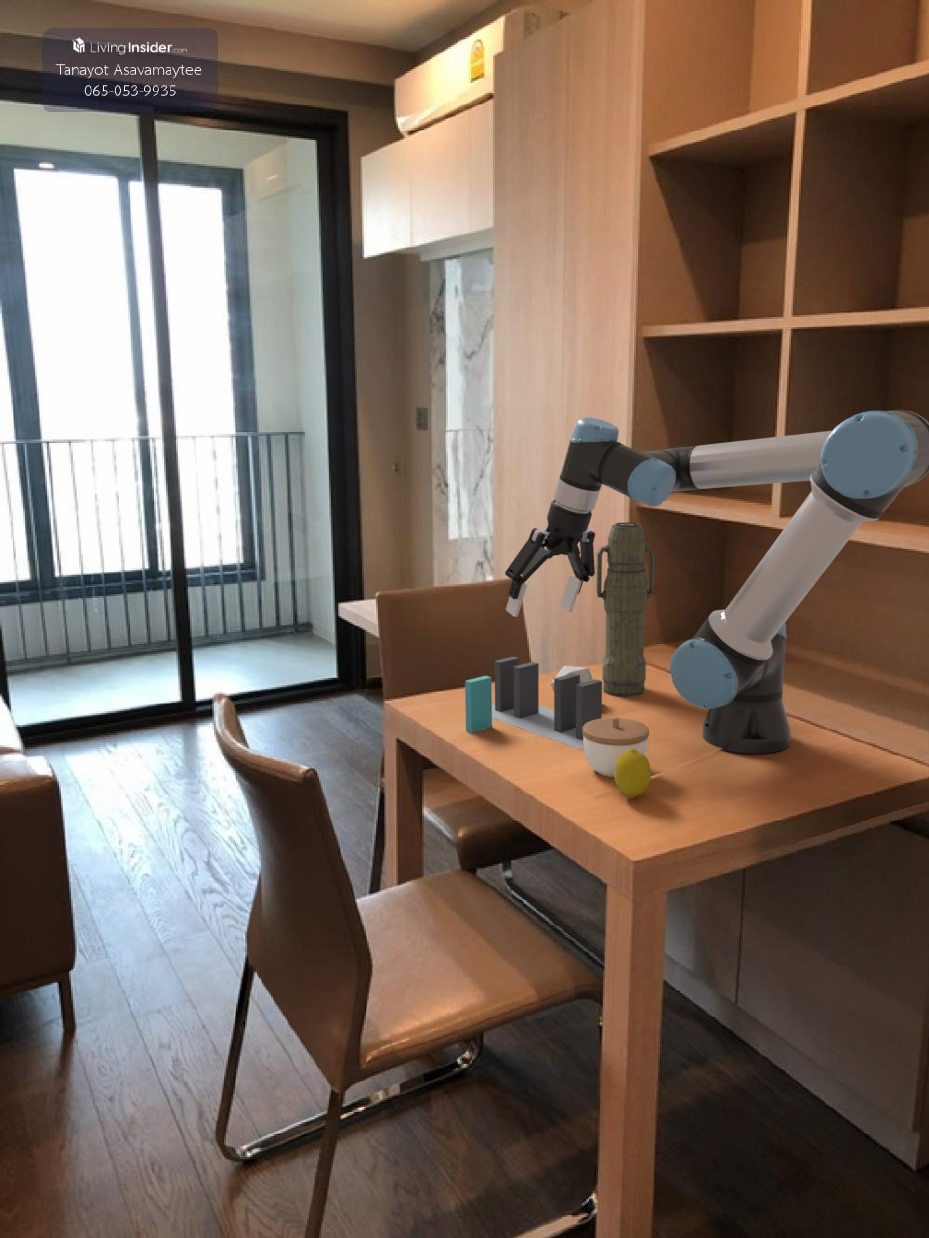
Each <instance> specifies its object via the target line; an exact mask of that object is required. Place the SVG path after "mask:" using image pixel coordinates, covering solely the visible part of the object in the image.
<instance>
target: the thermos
mask: <svg viewBox="0 0 929 1238" xmlns="http://www.w3.org/2000/svg"><path fill="white" fill-rule="evenodd" d="M608 533H609V534H608V536H607V544H606V545H605V546H601V547H600V548H599V549H598V550H597V552H596V566H595V567H596V568H595V574H596V577H595V579H596V581H595V583H596V587H595V589H596V597H597V598H599V599H600V598H602V600H603V609H604V612H605V652H604V655H603V658H602V676H601V677H602V692H604V693H605V694H607V695H610V696H615V697H626V698H627V697H637V696H641V695H643V694H645V692H646V690H645V682H646V680H647V676H646V675H647V661H646V659H645V655H644V653H645V652H644V649H645V647H644V644H645V613H646V611H647V608H648V600H649V598H650V599H651V597H652V596H654V595H655V594H656V564H657V563H656V561H657V557H656V556H657V553H656V552H655V550H654V549H653V548H652V546H647V545H646V538H645V532H644V529H643V526H642V525H641V524H639V523H638V522H628V521H627V522H616V523H614V524H613V525H611V528H610V530H609V532H608ZM604 552H606V553H607V555H606V556H607V563H608V566H607V567H608V568H607V569H606V570H607V571H606V577H605V579H604V581H603V584H602V580H603V579H602V574H603V573H602V571H603V554H604ZM647 552H648V553H649V571H648V572H649V575H648V577H649V579H648V580H647V577H646V569H645V562H646V553H647ZM602 586H603V587H602ZM602 588H603V590H602Z"/></svg>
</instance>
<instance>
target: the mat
mask: <svg viewBox="0 0 929 1238" xmlns="http://www.w3.org/2000/svg"><path fill="white" fill-rule="evenodd" d="M492 719H493V720H497V721H500V722H502V723H505V724H507V725H508V724H509V725H511V726H514V727H517V728H519V729H522V730H525V731H528V732H531V733H533V734H536V735H539V736H541V737H545V738H547V739H550V740H553V741H555V742H558V743H561V744H565V745H567V746H570V747H573V748H575V749H578V750H584V745H583V740H580V739H577V738H576V728H574V729H571V730H568V731H564V732H561V733H560V732H557V731H554V709H552V708H548V707H546V706H542V705H539V713H537V714H534V715H530V716H527V717H524V718H520V719H519V718H516V717H514V708H513V709H510V710H506V711H503V712H499V711H496V710H495V703H492Z"/></svg>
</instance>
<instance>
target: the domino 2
mask: <svg viewBox="0 0 929 1238" xmlns="http://www.w3.org/2000/svg"><path fill="white" fill-rule="evenodd" d="M539 672H540V671H539V663H538V662H535V661H530V662H526V663H522V664H519V665H518V666H514V717H516V718H519V719H520V718H524V717H527V716H530V715H534V714H537V713H539V706H540V705H539V697H540V696H539V693H540V690H539V689H540V688H539V687H540V686H539V680H540V679H539V678H540V677H539V674H540V673H539Z"/></svg>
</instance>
